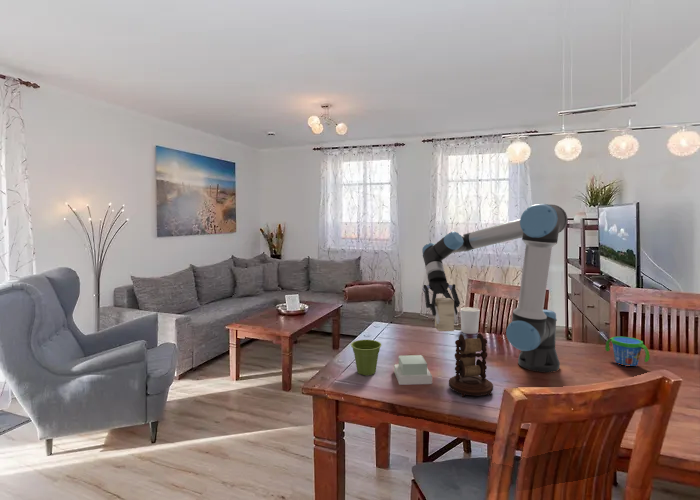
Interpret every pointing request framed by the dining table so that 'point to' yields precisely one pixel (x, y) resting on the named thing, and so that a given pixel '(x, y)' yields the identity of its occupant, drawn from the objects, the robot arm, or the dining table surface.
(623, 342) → the snack cup
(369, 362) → the plant pot
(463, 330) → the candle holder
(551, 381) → the dining table surface
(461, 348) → the brown wooden spool stand
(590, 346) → the dining table surface
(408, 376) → the tower base
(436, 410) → the dining table surface
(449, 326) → the maple brick
